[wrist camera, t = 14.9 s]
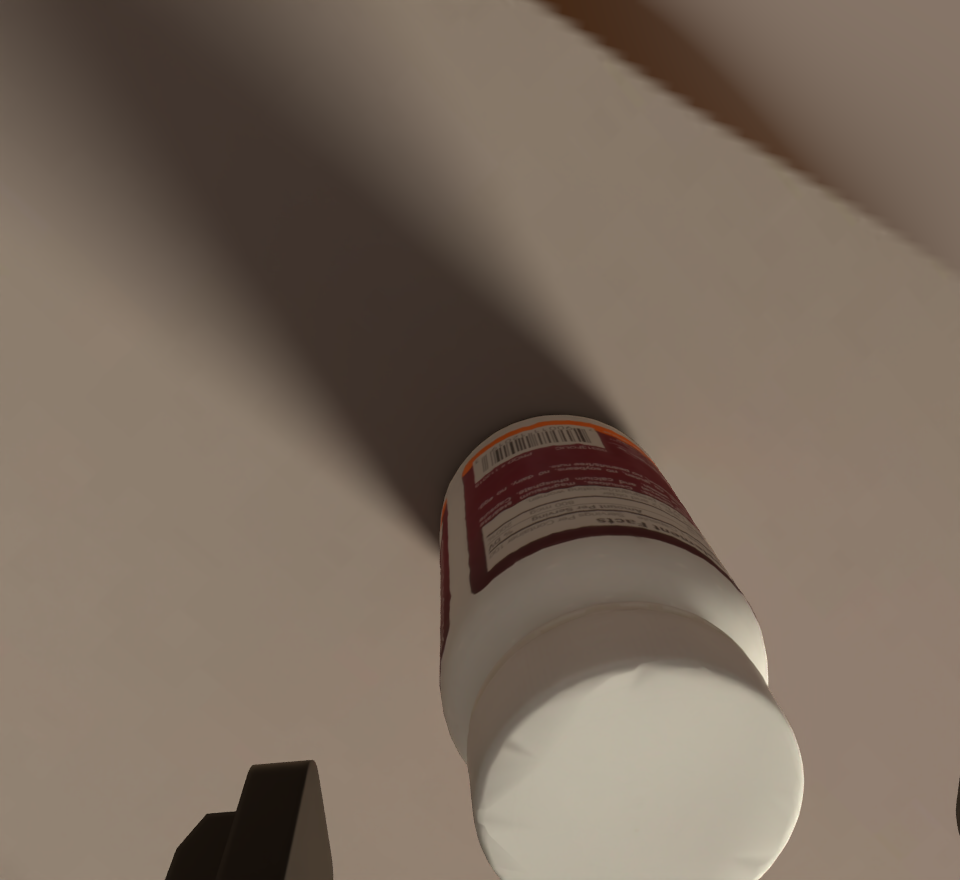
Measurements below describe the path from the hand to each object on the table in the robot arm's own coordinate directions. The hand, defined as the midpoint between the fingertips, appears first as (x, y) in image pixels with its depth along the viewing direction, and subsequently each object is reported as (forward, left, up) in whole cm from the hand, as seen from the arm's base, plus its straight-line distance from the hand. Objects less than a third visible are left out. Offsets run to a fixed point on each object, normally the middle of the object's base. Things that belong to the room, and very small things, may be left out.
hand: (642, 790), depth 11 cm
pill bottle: (0, 0, -8) cm, 8 cm away
